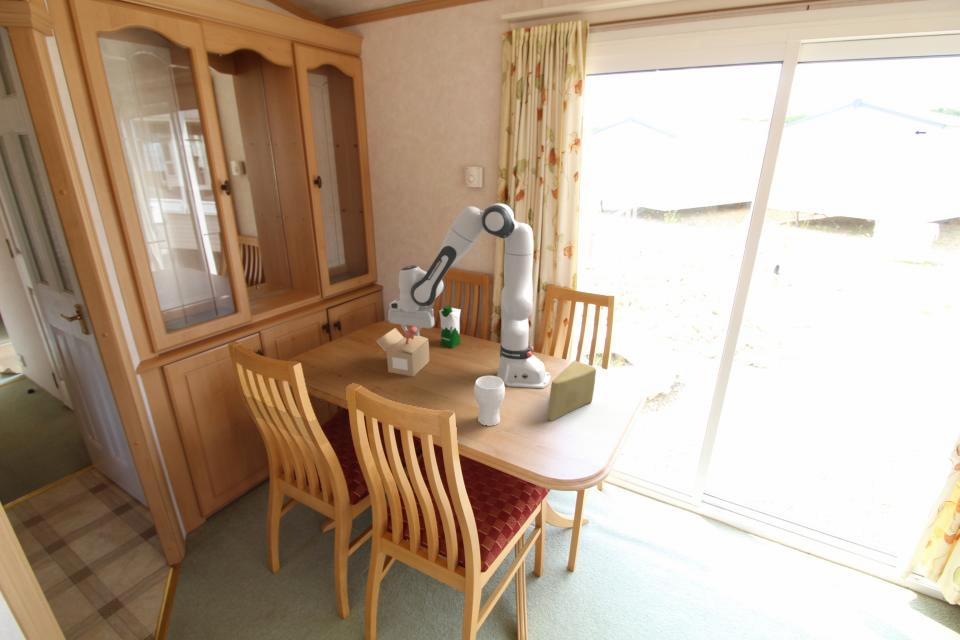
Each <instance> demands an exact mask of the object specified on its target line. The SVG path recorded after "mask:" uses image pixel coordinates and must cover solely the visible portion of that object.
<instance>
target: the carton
mask: <svg viewBox="0 0 960 640" xmlns="http://www.w3.org/2000/svg"><path fill="white" fill-rule="evenodd" d="M403 337H404V338H403V339H401V340H400V341H399V342H398V343H396V344H395V345H394V346H392V347H391V348H390V349H388V350H387V351H386V361H387V362H386V363H387V372H388V373H391V374H396V375H402V376H408V377H414V376H416V375H417V374H418V372H420V371H421V369H423V368H424V367H425V366H426V365H427V364H428V363H429V362H430V344H429V343H430V342H429V340H428V341H427V342H426V343H425V344H424V345H422V346H421V347H420V348H419V349H418V350H417V351H415V352H414V353H413V354H410V353H408V352H405V351H403V350H400V347H401V346H403V345H404V344H405V343H406V337H405V336H403ZM410 339H412V337H410V338H409V339H408V341H409V340H410Z"/></svg>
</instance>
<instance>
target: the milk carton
mask: <svg viewBox="0 0 960 640" xmlns="http://www.w3.org/2000/svg"><path fill="white" fill-rule="evenodd" d="M461 311H462V309H460V308H454V307H452V306H450V305H445V306H443V307H442V309H440V310H438V313H439V317H440V318H439V319H440V346H443V347H446V348H449V349H450V348H451V349H454V348H456V347H457V346H459V345H461V336H460V333H461V331H460V329H461V327H460V317H461Z"/></svg>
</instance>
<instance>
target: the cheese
mask: <svg viewBox="0 0 960 640" xmlns="http://www.w3.org/2000/svg"><path fill="white" fill-rule="evenodd" d="M596 372H597V368H596V367H594V366H592V365H589V364H586V363H584V362H580V361H577V360H574V361H572V362H571V363H570V364H569V365H568V366H567V367H565V368H564V369H563V370H562V372H560V373H559V374H558V375H557V376H555V378H554V379H553V380H552V381H551V384H550V392H549V393H550V394H549V399H548V410H547V411H548V412H547V420H548V421H551V422H553V421H556V420H557V419H559V418H561V417H562V416H565V415H567V414H568V413H570V411H571V412H573V411H575V410H576V409H578V408H580V407H583V406H585V405H587V404H590V403H592V402H593V396H594V390H595V384H596V375H597V374H596Z"/></svg>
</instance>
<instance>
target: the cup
mask: <svg viewBox="0 0 960 640" xmlns="http://www.w3.org/2000/svg"><path fill="white" fill-rule="evenodd" d="M505 387H506V385H505V384H504V382H503V380H502V379H501V378H499V377H497V375H484V376H483V375H482V376H480V377H478V378H477V379H476V380H475V383H474V387H473V396H474V398H475V399H474V400H475V401H476V403H477V405H478V410H479V413H478V419H477V422H478V423H479V422H480V423H481V424H480V423H479V424H480V425H482V424H483V426H485V425H487V426H486V427H493V425H494V426H496V424H497V425H498V424H500V422H501V416H500V407H501V405H502V403H503V401H504V398H505V396H506V388H505Z"/></svg>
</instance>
